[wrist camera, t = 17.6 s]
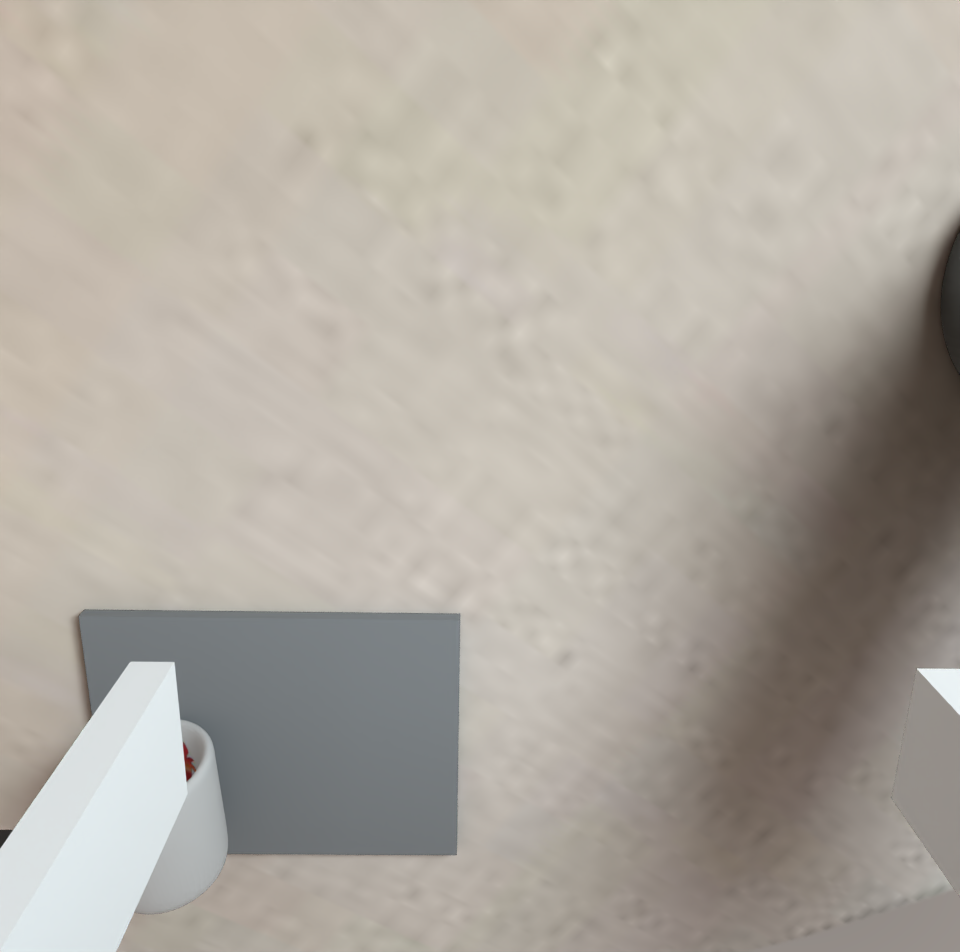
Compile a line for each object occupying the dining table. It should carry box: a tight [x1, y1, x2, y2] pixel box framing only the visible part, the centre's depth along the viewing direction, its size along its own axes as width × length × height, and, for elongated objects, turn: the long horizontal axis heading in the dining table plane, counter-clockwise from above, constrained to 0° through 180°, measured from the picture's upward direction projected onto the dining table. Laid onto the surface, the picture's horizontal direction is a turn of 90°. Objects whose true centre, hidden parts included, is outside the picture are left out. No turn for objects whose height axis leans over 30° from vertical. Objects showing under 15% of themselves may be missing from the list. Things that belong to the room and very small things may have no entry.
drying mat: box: [79, 610, 460, 855], centre depth 52 cm, size 21×16×1 cm
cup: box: [134, 719, 228, 914], centre depth 50 cm, size 11×8×8 cm
